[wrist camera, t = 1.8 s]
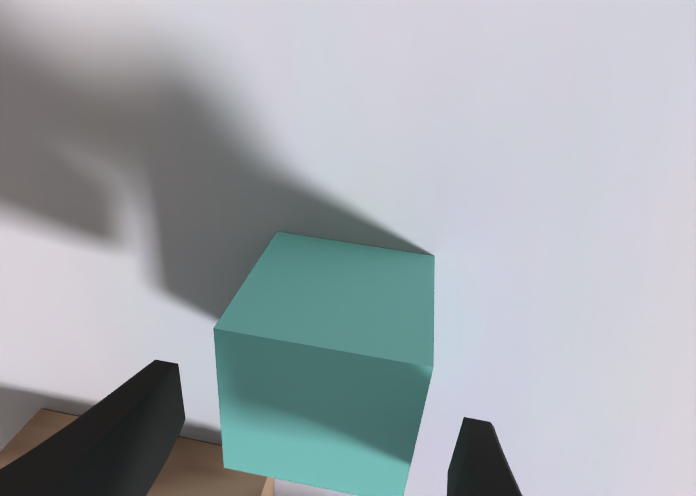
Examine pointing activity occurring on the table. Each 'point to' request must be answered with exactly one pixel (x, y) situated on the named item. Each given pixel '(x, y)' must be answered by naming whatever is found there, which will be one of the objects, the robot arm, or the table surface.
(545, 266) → the table surface
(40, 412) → the walnut base
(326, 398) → the teal cube
